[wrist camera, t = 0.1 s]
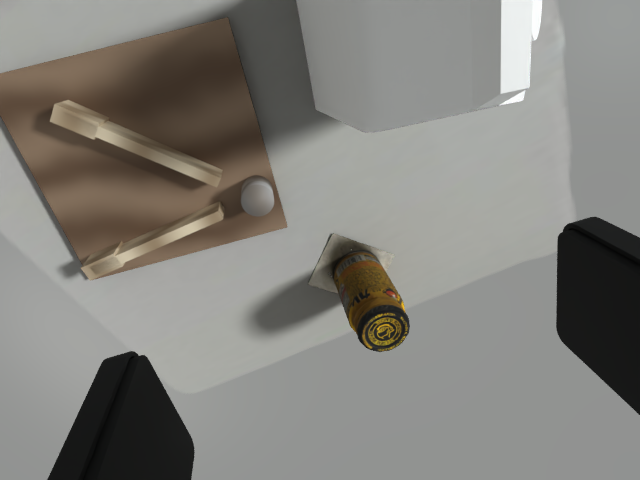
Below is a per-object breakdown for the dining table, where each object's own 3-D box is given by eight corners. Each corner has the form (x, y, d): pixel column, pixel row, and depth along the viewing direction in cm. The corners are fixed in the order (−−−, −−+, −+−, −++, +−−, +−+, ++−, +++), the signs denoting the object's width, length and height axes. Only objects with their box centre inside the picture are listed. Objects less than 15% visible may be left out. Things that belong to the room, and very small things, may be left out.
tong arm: (223, 167, 43) (222, 175, 40) (217, 181, 43) (215, 190, 41) (68, 99, 38) (54, 103, 36) (63, 116, 39) (49, 121, 36)
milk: (291, -28, 38) (361, -148, 14) (415, -52, 38) (673, -203, 15) (315, 109, 43) (396, 185, 20) (424, 86, 44) (626, 133, 20)
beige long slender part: (264, 170, 44) (265, 180, 40) (277, 197, 45) (279, 208, 42) (86, 248, 44) (73, 264, 41) (104, 272, 46) (93, 289, 42)
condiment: (368, 302, 54) (398, 366, 43) (307, 283, 51) (323, 346, 40) (394, 254, 51) (433, 309, 41) (332, 231, 49) (356, 284, 38)
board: (-14, 77, 37) (-21, 78, 36) (228, 17, 38) (227, 17, 37) (93, 275, 47) (90, 280, 46) (286, 223, 48) (287, 227, 47)
